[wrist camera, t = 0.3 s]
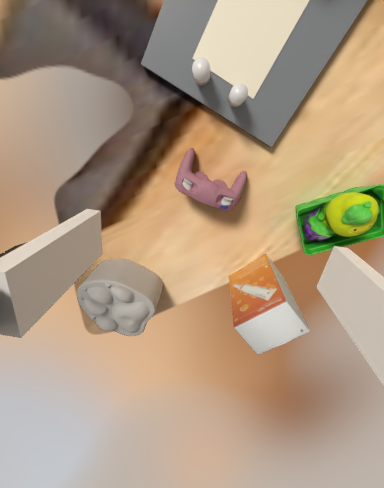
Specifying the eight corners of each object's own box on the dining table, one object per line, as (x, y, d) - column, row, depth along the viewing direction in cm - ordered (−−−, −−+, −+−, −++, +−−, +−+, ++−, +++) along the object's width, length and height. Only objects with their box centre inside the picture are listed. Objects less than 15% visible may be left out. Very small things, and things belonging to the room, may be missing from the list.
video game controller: (180, 168, 37) (167, 195, 33) (189, 143, 34) (175, 169, 29) (237, 192, 38) (231, 222, 34) (250, 170, 35) (246, 200, 30)
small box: (265, 252, 41) (287, 300, 29) (284, 277, 42) (312, 332, 31) (227, 275, 43) (232, 328, 31) (246, 298, 45) (258, 356, 33)
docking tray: (143, 66, 31) (131, 53, 26) (225, -158, 23) (229, -235, 18) (269, 146, 33) (279, 148, 29) (382, -28, 25) (421, -65, 21)
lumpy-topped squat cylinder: (146, 314, 49) (134, 349, 41) (88, 287, 47) (63, 317, 39) (168, 278, 44) (159, 309, 37) (105, 246, 43) (81, 271, 35)
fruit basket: (294, 243, 39) (323, 280, 29) (283, 193, 36) (312, 216, 26) (368, 222, 37) (427, 255, 27) (363, 167, 34) (430, 181, 24)
